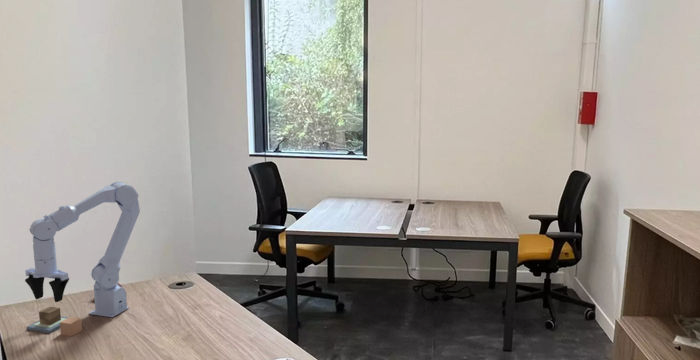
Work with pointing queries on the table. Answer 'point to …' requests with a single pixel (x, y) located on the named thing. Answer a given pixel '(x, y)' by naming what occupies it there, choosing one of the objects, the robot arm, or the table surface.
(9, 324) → the table surface
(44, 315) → the brass cube
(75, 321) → the terracotta cube
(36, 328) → the baseplate
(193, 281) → the table surface
